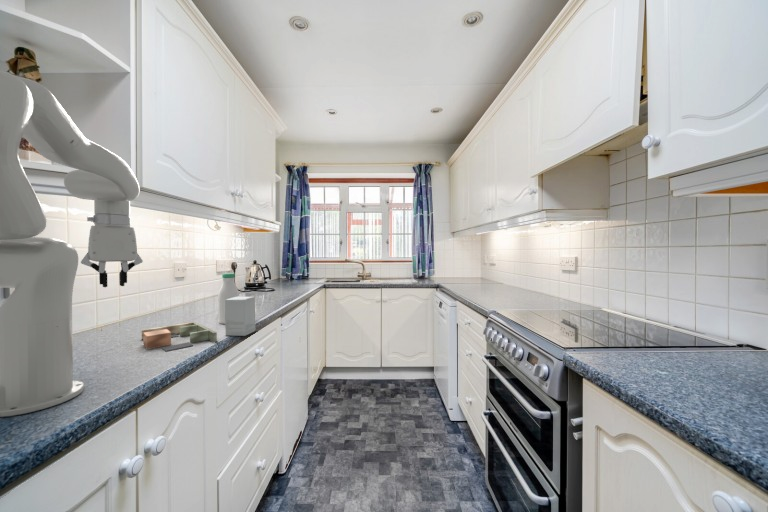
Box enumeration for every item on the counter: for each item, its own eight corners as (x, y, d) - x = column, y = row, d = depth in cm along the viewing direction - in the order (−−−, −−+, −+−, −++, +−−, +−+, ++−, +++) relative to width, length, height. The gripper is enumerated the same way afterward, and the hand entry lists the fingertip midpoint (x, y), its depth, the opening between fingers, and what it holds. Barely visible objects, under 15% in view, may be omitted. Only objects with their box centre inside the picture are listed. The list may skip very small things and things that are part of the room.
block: (146, 349, 89) (146, 336, 89) (143, 345, 93) (143, 332, 93) (171, 345, 94) (170, 332, 94) (166, 341, 98) (166, 329, 98)
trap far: (153, 341, 97) (153, 340, 97) (149, 338, 100) (149, 337, 100) (178, 336, 102) (178, 335, 102) (174, 334, 105) (174, 333, 105)
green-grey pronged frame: (157, 353, 85) (157, 343, 85) (141, 339, 99) (141, 330, 99) (216, 341, 97) (216, 332, 97) (194, 330, 111) (194, 321, 111)
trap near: (165, 351, 87) (165, 350, 87) (161, 348, 90) (161, 347, 90) (193, 346, 92) (193, 345, 92) (188, 343, 95) (188, 342, 95)
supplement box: (256, 330, 110) (256, 296, 110) (244, 336, 103) (244, 299, 103) (237, 330, 111) (236, 296, 111) (224, 335, 103) (224, 299, 103)
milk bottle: (240, 322, 122) (239, 273, 122) (218, 325, 118) (218, 274, 118) (238, 319, 129) (238, 272, 129) (217, 321, 125) (217, 273, 125)
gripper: (72, 218, 77) (73, 290, 77) (151, 223, 89) (152, 284, 89) (70, 220, 82) (71, 287, 82) (146, 224, 94) (146, 283, 94)
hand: (113, 285), depth 86 cm, fingers open, 3 cm apart
